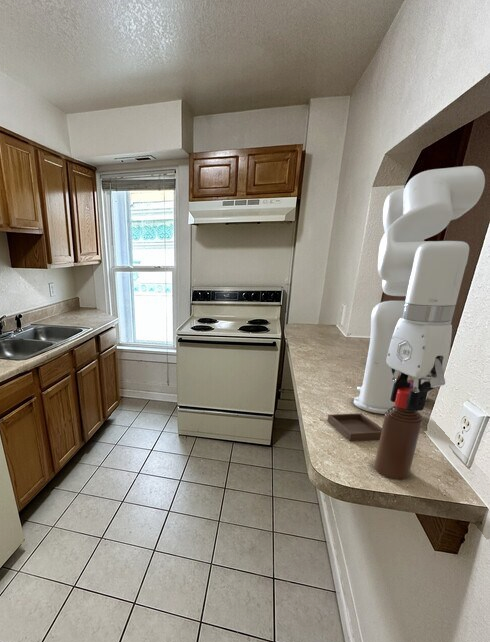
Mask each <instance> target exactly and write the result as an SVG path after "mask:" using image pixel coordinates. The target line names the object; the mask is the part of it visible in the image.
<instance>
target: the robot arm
mask: <svg viewBox="0 0 490 642" xmlns="http://www.w3.org/2000/svg"><path fill="white" fill-rule="evenodd" d="M485 184H486V177H485V173H484V171H483V169H482V168H480V167H479V166H476V165H463V166H453V167H445V168H444V167H443V168H433V169H427V170H424V171H421V172H419V173H417V174H415V175H414V176H412V177H411V178H410V179H409V180H408V182H407V183H406V184H405V186H404V187H401V188H398V189H395V190H393V191H391V192H390V193H389V194H388V195H387V196H386V198H385V200H384V203H383V208H382V224H383V230H384V232H383V235H382V237H381V239H380V242H379V245H378V246H379V247H378V255H377V273H378V276H379V278H380V279H381V280H382V283H381V288H382V291H383V293H384V294H386V295H387V296H392V297H405V300H386V301H381V302H379V303H377V304H376V305H375V306H374V307H373V308H372V311H371V315H370V336H369V337H370V338H369V346H368V352H367V356H366V357H367V358H366V363H365V369H364V374H363V380H362V385H360V386H359V385H358V386H357V388H356V390H357V391H358V392H359V395H358V396H356V397H354V399H353V404H354V405H355V407H357V408H359V409H361V410H363V411H366V412H369V413H373V414H378V415H379V414H380V415H385V413H386V411H387V410H388V409H390V408H392V407H394V406H396V405H395V399H396V394H397V391H398V389H399V388H410V384H411V383H409V382H408V381H409V379H410V377H413V378H414V382H413V391H410V392H409V396H408V400H407V405H406V410H408V411H418V412H419V411H423V410H424V409H425V406H426V405H425V404H426V401H427V399H426V397H427V393H428V392H429V393H431V392H432V390H433V389H435V388H438V387H443V386H445V385H446V378H445V371H446V368H447V365H448V360H449V357H450V351H451V344H452V335H453V324H452V322H453V321H452V320H453V317H454V313H455V308H456V306H457V302H458V299H459V295H460V294H459V293H460V289H461V286H462V282H463V278H464V273H465V270H466V266H467V265H468V261H469V254H470V245H469V244H468V242H465V241H461V240H428V239H429V238H431V237H434V236H436V235H438V234H439V233H441V232H442V231H444V229H446V228H447V227H448V225H450V222H451V221H453V220H457V219H459V218H461V217H462V216H463V215H464V214H466V213H467V212H469V211H470V210H471V209H472V208H474V206H475V205H477V203H478V202H479V200H480V199H481V197H482V195H483V192H484V190H485ZM426 240H428V241H426ZM423 379H425V382H424V383H422V384H421V380H423ZM429 393H428V394H429ZM427 398H428V397H427Z"/></svg>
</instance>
